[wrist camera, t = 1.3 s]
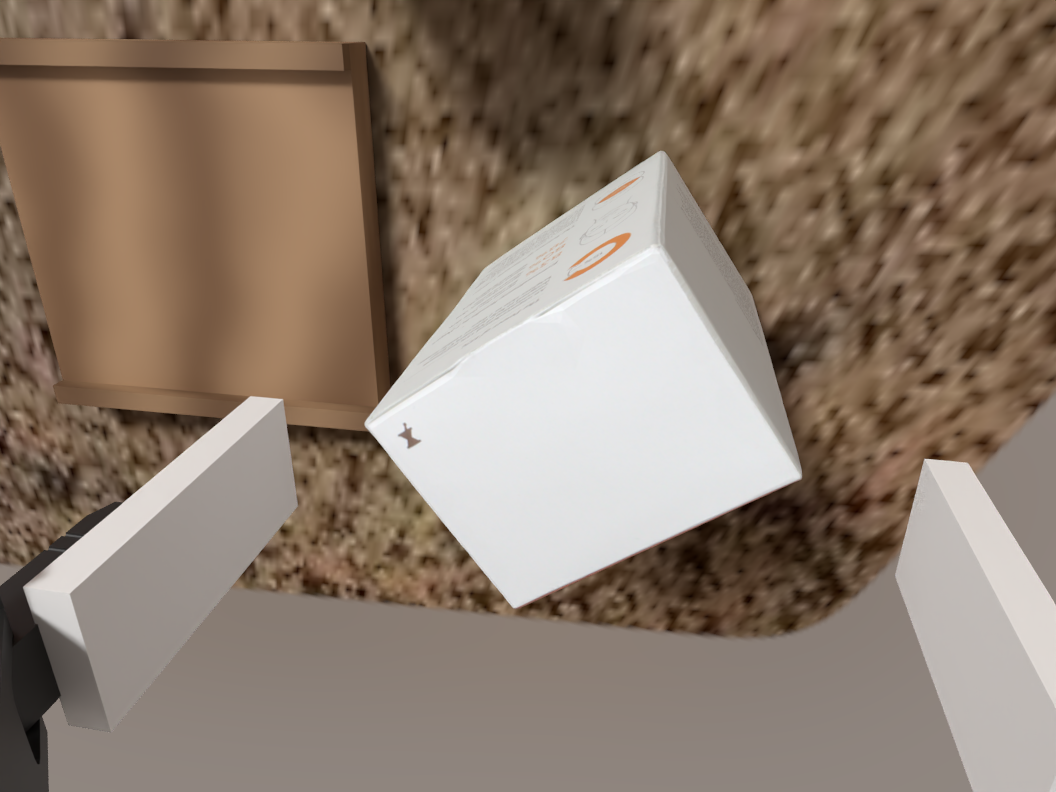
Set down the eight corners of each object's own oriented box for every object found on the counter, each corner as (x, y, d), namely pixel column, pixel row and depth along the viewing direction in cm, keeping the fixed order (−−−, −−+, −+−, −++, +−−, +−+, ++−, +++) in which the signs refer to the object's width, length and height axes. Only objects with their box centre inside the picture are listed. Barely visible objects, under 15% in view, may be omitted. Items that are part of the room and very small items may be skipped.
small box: (572, 399, 32) (509, 618, 20) (479, 268, 30) (351, 423, 18) (759, 295, 29) (811, 483, 17) (666, 143, 27) (655, 234, 15)
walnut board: (90, 382, 35) (57, 403, 33) (4, 38, 29) (-42, 38, 27) (392, 408, 33) (375, 432, 31) (365, 42, 27) (341, 43, 25)
